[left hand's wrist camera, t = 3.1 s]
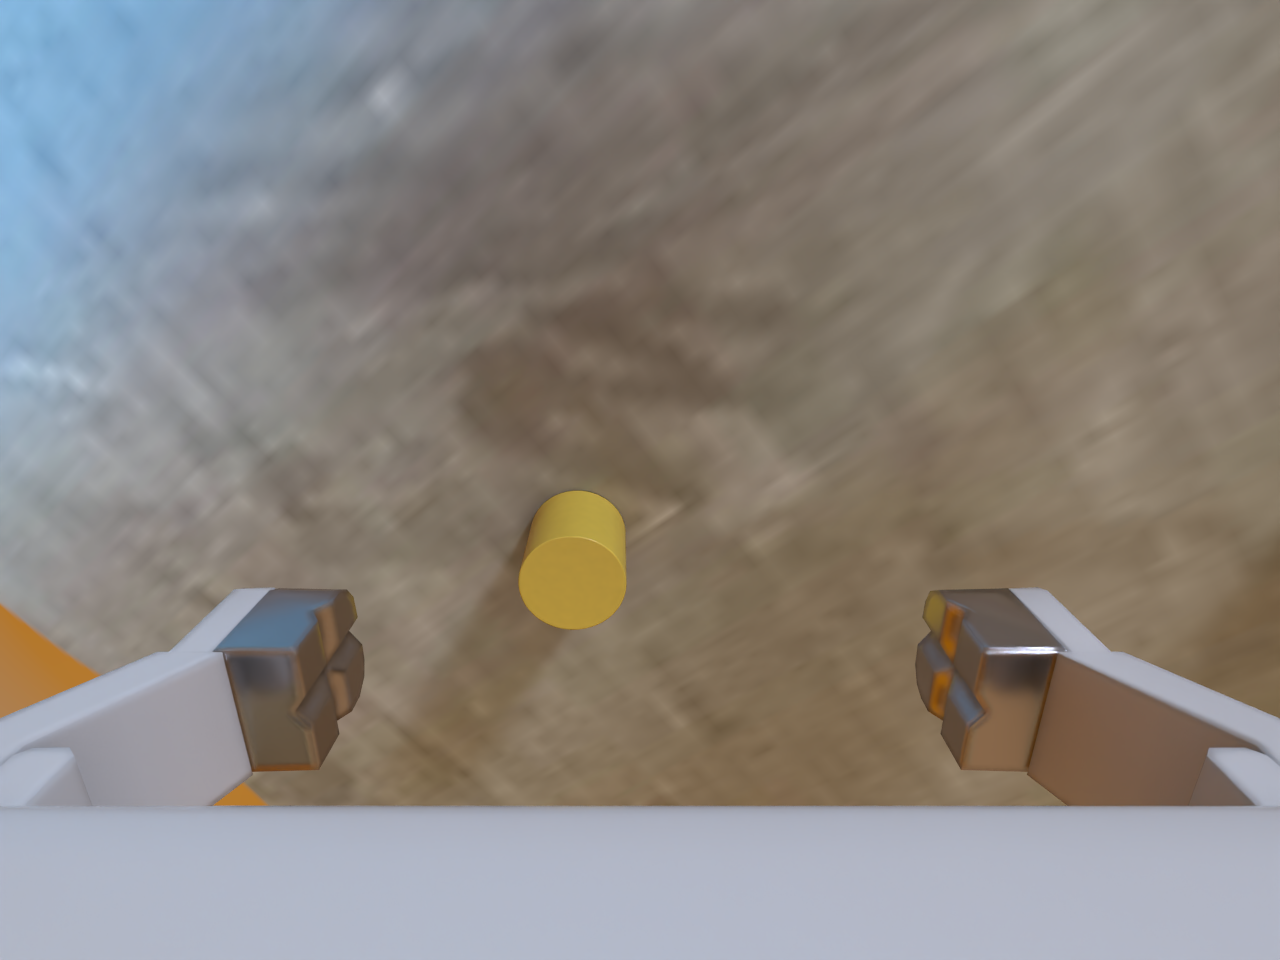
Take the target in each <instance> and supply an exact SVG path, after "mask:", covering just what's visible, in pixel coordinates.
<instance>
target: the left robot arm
mask: <svg viewBox="0 0 1280 960" xmlns="http://www.w3.org/2000/svg"><path fill="white" fill-rule="evenodd" d="M356 619H357V612H356V607H355V602H354V598H353V596H352V595H351V594H350V593H349V591H348V590H340V589H288V588H278V589H275V588H242V589H235V590H233V591H232V592H231V593H230V594H229V595H228V596H227V597H226V598H225V599H224V600H223V601H222V602H221V603H219V604H218V605H217V606H216V607H215V608H214V609H213V610H212V611H211V612H210V613H209V614H208V615H207V616H206V617H205V618H204V619H203V620H202V621H201V622H200V623H199V624H198V625H197V626H196V627H194V628H193V629H192V630H191V631H190V632H189V633H188V634H187V635H186V636H185V637H184V638H183V639H182V640H181V641H180V642H179V643H178V644H177V645H176V646H175V647H174V648H173V649H172V650H171V651H169V652H156V653H154V654H151V655H149V656H146V657H144V658H142V659H139V660H137V661H135V662H132V663H130V664H128V665H125V666H123V667H120V668H118V669H116V670H113V671H111V672H109V673H106V674H104V675H102V676H99V677H97V678H95V679H92V680H90V681H87V682H85V683H83V684H80V685H78V686H76V687H73V688H71V689H69V690H66V691H64V692H61V693H59V694H57V695H54V696H52V697H50V698H47V699H45V700H43V701H40V702H38V703H35V704H33V705H31V706H28V707H26V708H24V709H21V710H19V711H17V712H14V713H12V714H10V715H7V716H5V717H2V718H0V960H1280V718H1277V717H1275V716H1273V715H1270V714H1268V713H1265V712H1263V711H1261V710H1258V709H1256V708H1254V707H1251V706H1249V705H1247V704H1244V703H1242V702H1240V701H1237V700H1235V699H1232V698H1230V697H1228V696H1225V695H1223V694H1221V693H1218V692H1216V691H1214V690H1211V689H1209V688H1207V687H1204V686H1202V685H1199V684H1197V683H1195V682H1192V681H1190V680H1188V679H1185V678H1183V677H1181V676H1178V675H1176V674H1174V673H1171V672H1169V671H1166V670H1164V669H1162V668H1159V667H1157V666H1155V665H1152V664H1150V663H1148V662H1145V661H1143V660H1141V659H1138V658H1136V657H1134V656H1131V655H1129V654H1126V653H1124V652H1111V651H1110V650H1108V649H1107V648H1106V647H1105V646H1104V645H1103V644H1102V643H1101V642H1100V641H1099V640H1098V639H1097V638H1096V637H1095V636H1094V635H1093V634H1092V633H1091V632H1090V631H1089V630H1088V629H1087V628H1086V627H1085V626H1084V625H1083V624H1081V623H1080V622H1079V621H1078V620H1077V619H1076V618H1075V617H1074V616H1073V615H1072V614H1071V613H1070V612H1069V611H1068V610H1067V609H1066V608H1065V607H1064V606H1063V605H1062V604H1061V603H1060V602H1059V601H1058V600H1057V599H1056V598H1054V597H1053V596H1052V595H1051V594H1050V593H1049V592H1048V591H1047V590H1044V589H1041V588H1038V587H1036V588H1012V589H1008V588H1005V589H964V590H936V591H930V593H929V595H928V597H927V599H926V601H925V606H924V611H923V619H924V621H925V622H926V624H927V625H928V627H929V628H930V630H931V631H930V633H929V634H928V635H927V636H926V637H925V638H924V639H923V640H922V641H921V642H920V643H919V644H918V648H917V655H916V663H915V668H916V679H917V686H918V689H919V693H920V696H921V699H922V701H923V703H924V704H925V706H926V708H927V710H928V711H929V712H930V713H932V714H933V715H935V716H937V717H938V718H940V719H941V720H943V724H942V729H941V735H942V737H943V739H944V741H945V742H946V744H947V746H948V748H949V749H950V751H951V753H952V755H953V756H954V758H955V760H956V762H957V763H958V765H959V767H960V769H961V770H985V771H1021V772H1028V773H1027V775H1028V776H1030V777H1031V778H1032V779H1034V780H1035V781H1036V782H1038V783H1039V784H1040V785H1042V786H1043V787H1044V788H1045V789H1047V790H1048V791H1049V792H1051V793H1052V794H1053V795H1055V796H1056V797H1057V798H1059V799H1060V800H1061V801H1062V802H1064V803H1065V804H1066V805H1068V806H213V805H214V804H215V803H216V802H218V801H219V800H220V799H222V798H223V797H224V796H225V795H227V794H228V793H230V792H231V791H232V790H234V789H235V788H236V787H237V786H239V785H240V784H241V783H243V782H244V781H245V780H247V779H248V778H249V777H251V776H252V774H253V773H252V772H258V771H294V770H319V769H320V767H321V765H322V764H323V762H324V760H325V758H326V756H327V755H328V753H329V751H330V749H331V748H332V746H333V744H334V742H335V741H336V739H337V737H338V735H339V729H338V724H337V720H339V719H340V718H342V717H343V716H345V715H347V714H348V713H350V712H351V711H352V710H353V708H354V706H355V704H356V702H357V701H358V699H359V697H360V693H361V688H362V684H363V680H364V654H363V647H362V644H361V643H360V642H359V641H358V640H357V639H356V638H355V637H354V636H353V635H352V634H351V633H350V631H349V630H350V628H351V627H352V625H353V624H354V622H355V621H356Z"/></svg>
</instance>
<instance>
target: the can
mask: <svg viewBox="0 0 1280 960" xmlns="http://www.w3.org/2000/svg"><path fill="white" fill-rule="evenodd" d="M518 583H519V591H520V594H521V597H522V600H523V601H524V603H525V605H526V606H527V608H528V609H529V610H530V611H531V612H532V613H533V614H534V615H535V616H536V617H537V618H538V619H540V620H541V621H543V622H545V623H547V624H549V625H551V626H554V627H557V628H562V629H570V630H577V629H585V628H589V627H592V626H595V625H598V624H600V623H602V622H603V621H605V620H606V619H608V618H609V617H610V616H611V615H613V614H614V613H615V611H616V610H617V609H618V608H619V606H620V605H621V603H622V601H623V598H624V595H625V592H626V540H625V525H624V522H623V519H622V517H621V515H620V513H619V512H618V510H617V509H616V508H615V507H614V505H612V504H611V503H610V502H609V501H608V500H606V499H605V498H603V497H601V496H599V495H597V494H594V493H591V492H587V491H568V492H564V493H560V494H558V495H555V496H554V497H552V498H550V499H549V500H547V501H546V502H545V503H544V504H543V505H542V506H541V507H540V508H539V509H538V511H537V512H536V514H535V516H534V519H533V521H532V525H531V529H530V533H529V537H528V541H527V545H526V549H525V553H524V557H523V561H522V564H521V568H520V573H519V580H518Z"/></svg>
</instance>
